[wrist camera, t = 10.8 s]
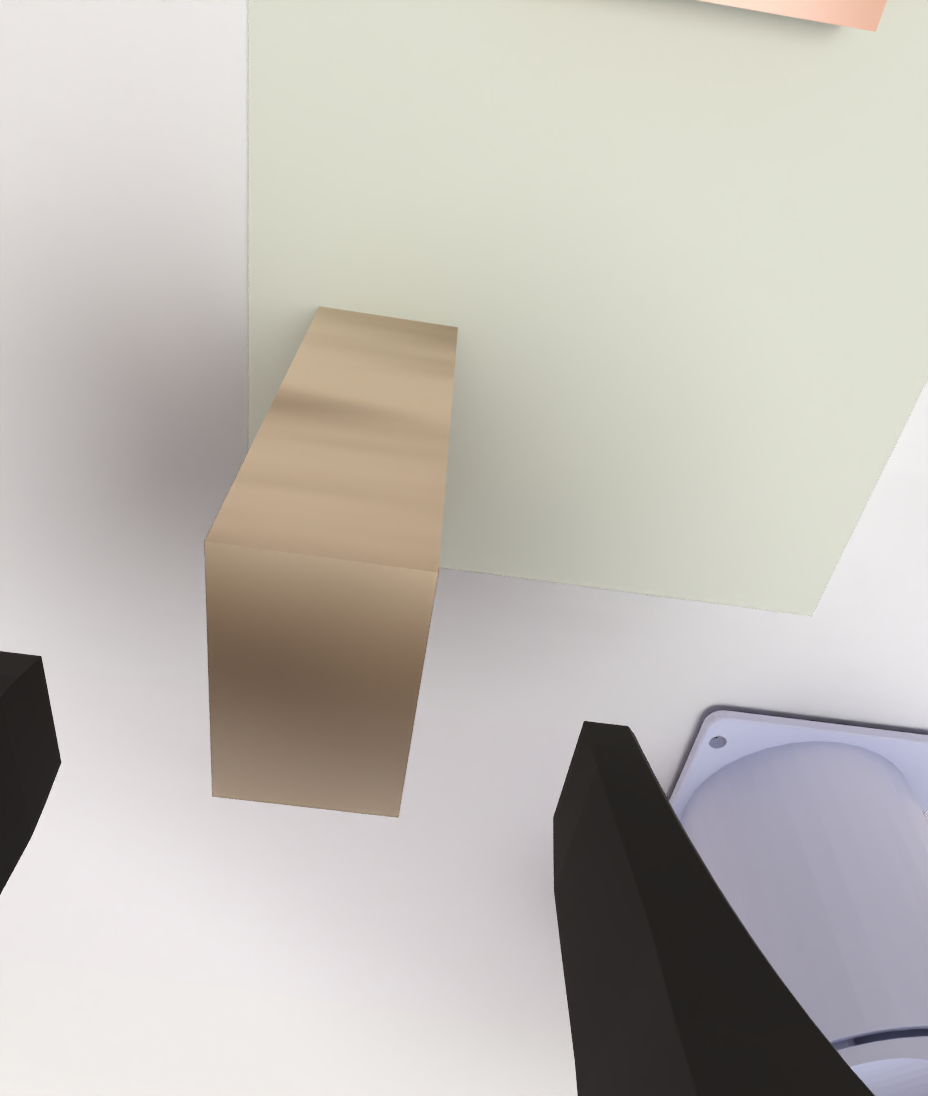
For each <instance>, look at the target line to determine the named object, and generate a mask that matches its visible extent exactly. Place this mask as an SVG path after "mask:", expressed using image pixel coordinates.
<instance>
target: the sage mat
mask: <svg viewBox="0 0 928 1096" xmlns="http://www.w3.org/2000/svg"><path fill="white" fill-rule="evenodd" d="M319 306H321V307H328V308H334V309H341V310H348V311H354V312H361V313H367V314H374V315H380V316H387V317H393V318H400V319H407V320H413V321H420V322H426V323H433V324H439V325H446V326H452V327H458V332H457V345H456V358H455V370H454V383H453V396H452V408H451V421H450V434H449V446H448V459H447V472H446V484H445V497H444V510H443V522H442V535H441V548H440V561H439V568H446V569H454V570H461V571H469V572H477V573H484V574H492V575H500V576H507V577H515V578H523V579H530V580H538V581H546V582H553V583H561V584H569V585H576V586H584V587H592V588H599V589H607V590H614V591H622V592H630V593H637V594H645V595H653V596H660V597H668V598H676V599H683V600H691V601H699V602H706V603H714V604H722V605H729V606H737V607H745V608H752V609H760V610H768V611H775V612H783V613H791V614H798V615H806V616H812V615H813V613H814V611H815V609H816V607H817V605H818V602H819V600H820V598H821V596H822V594H823V592H824V590H825V588H826V586H827V584H828V582H829V580H830V578H831V576H832V574H833V572H834V570H835V568H836V566H837V564H838V562H839V560H840V558H841V556H842V553H843V551H844V549H845V547H846V545H847V543H848V541H849V539H850V537H851V535H852V533H853V531H854V529H855V527H856V525H857V523H858V521H859V519H860V517H861V515H862V513H863V511H864V509H865V506H866V504H867V502H868V500H869V498H870V496H871V494H872V492H873V490H874V488H875V486H876V484H877V482H878V480H879V478H880V476H881V474H882V472H883V470H884V468H885V466H886V464H887V462H888V459H889V457H890V455H891V453H892V451H893V449H894V447H895V445H896V443H897V441H898V439H899V437H900V435H901V433H902V431H903V429H904V427H905V425H906V423H907V421H908V419H909V417H910V415H911V412H912V410H913V408H914V406H915V404H916V402H917V400H918V398H919V396H920V394H921V392H922V390H923V388H924V386H925V384H926V382H927V380H928V0H887V2H886V5H885V7H884V10H883V13H882V16H881V19H880V21H879V24H878V27H877V30H876V32H874V31H868V30H862V29H856V28H850V27H845V26H839V25H833V24H828V23H822V22H816V21H811V20H805V19H799V18H794V17H788V16H783V15H777V14H771V13H766V12H760V11H754V10H749V9H743V8H737V7H732V6H726V5H721V4H715V3H709V2H704V1H698V0H248V451H249V449H250V447H251V445H252V443H253V441H254V439H255V437H256V435H257V433H258V431H259V429H260V427H261V425H262V423H263V421H264V419H265V416H266V414H267V412H268V410H269V408H270V406H271V404H272V402H273V400H274V398H275V396H276V394H277V392H278V390H279V388H280V386H281V384H282V382H283V380H284V378H285V376H286V374H287V372H288V370H289V367H290V365H291V363H292V361H293V359H294V357H295V355H296V353H297V351H298V349H299V347H300V345H301V343H302V341H303V339H304V337H305V335H306V333H307V331H308V329H309V327H310V325H311V323H312V321H313V319H314V316H315V314H316V312H317V310H318V308H319Z"/></svg>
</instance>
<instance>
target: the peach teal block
mask: <svg viewBox="0 0 928 1096" xmlns="http://www.w3.org/2000/svg"><path fill="white" fill-rule="evenodd" d="M698 1H704V2H709V3H715V4H721V5H726V6H732V7H737V8H743V9H749V10H754V11H760V12H766V13H771V14H777V15H783V16H788V17H794V18H799V19H805V20H811V21H816V22H822V23H828V24H833V25H839V26H845V27H850V28H856V29H862V30H868V31H874V32H876V30H877V27H878V24H879V21H880V19H881V16H882V13H883V10H884V7H885V5H886V2H887V0H698Z"/></svg>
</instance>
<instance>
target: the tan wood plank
mask: <svg viewBox="0 0 928 1096" xmlns="http://www.w3.org/2000/svg"><path fill="white" fill-rule="evenodd" d="M457 332H458V327H452V326H446V325H439V324H433V323H426V322H420V321H413V320H407V319H400V318H393V317H387V316H380V315H374V314H367V313H361V312H354V311H348V310H341V309H334V308H328V307H321V306H319V308H318V310H317V312H316V314H315V316H314V319H313V321H312V323H311V325H310V327H309V329H308V331H307V333H306V335H305V337H304V339H303V341H302V343H301V345H300V347H299V349H298V351H297V353H296V355H295V357H294V359H293V361H292V363H291V365H290V367H289V370H288V372H287V374H286V376H285V378H284V380H283V382H282V384H281V386H280V388H279V390H278V392H277V394H276V396H275V398H274V400H273V402H272V404H271V406H270V408H269V410H268V412H267V414H266V416H265V419H264V421H263V423H262V425H261V427H260V429H259V431H258V433H257V435H256V437H255V439H254V441H253V443H252V445H251V447H250V449H249V451H248V453H247V455H246V457H245V459H244V461H243V463H242V465H241V467H240V470H239V472H238V474H237V476H236V478H235V480H234V482H233V484H232V486H231V488H230V490H229V492H228V494H227V496H226V498H225V500H224V502H223V504H222V506H221V508H220V510H219V512H218V514H217V516H216V518H215V521H214V523H213V525H212V527H211V529H210V531H209V533H208V535H207V537H206V539H205V541H204V548H205V580H206V613H207V645H208V677H209V709H210V742H211V774H212V796H213V797H221V798H230V799H239V800H248V801H257V802H265V803H274V804H283V805H292V806H301V807H309V808H318V809H327V810H336V811H345V812H353V813H362V814H371V815H380V816H389V817H399V811H400V804H401V798H402V792H403V786H404V780H405V774H406V768H407V762H408V756H409V750H410V743H411V737H412V731H413V725H414V719H415V713H416V707H417V701H418V695H419V689H420V683H421V676H422V670H423V664H424V658H425V652H426V646H427V640H428V634H429V628H430V622H431V616H432V609H433V603H434V597H435V591H436V585H437V579H438V573H439V561H440V548H441V535H442V522H443V510H444V497H445V484H446V472H447V459H448V446H449V434H450V421H451V408H452V396H453V383H454V370H455V358H456V345H457Z"/></svg>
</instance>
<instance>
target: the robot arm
mask: <svg viewBox="0 0 928 1096" xmlns="http://www.w3.org/2000/svg"><path fill="white" fill-rule="evenodd" d="M717 736H721V737H719V738H714V737H717ZM712 738H714V739H712ZM60 764H61V759H60V753H59V748H58V743H57V737H56V732H55V727H54V721H53V716H52V711H51V705H50V700H49V695H48V689H47V684H46V679H45V673H44V668H43V663H42V657H41V656H35V655H27V654H18V653H10V652H2V651H0V894H1V892H2V890H3V888H4V887H5V885H6V883H7V881H8V879H9V877H10V876H11V874H12V872H13V870H14V868H15V866H16V865H17V863H18V861H19V859H20V857H21V855H22V854H23V852H24V850H25V848H26V846H27V844H28V842H29V840H30V838H31V837H32V835H33V832H34V830H35V827H36V825H37V823H38V820H39V818H40V815H41V813H42V810H43V808H44V806H45V803H46V801H47V798H48V796H49V793H50V790H51V788H52V785H53V782H54V780H55V777H56V775H57V772H58V769H59V767H60ZM927 810H928V735H922V734H914V733H906V732H898V731H890V730H882V729H873V728H865V727H857V726H849V725H841V724H833V723H824V722H816V721H808V720H800V719H792V718H784V717H775V716H767V715H759V714H751V713H743V712H735V711H726V710H720V711H716V712H713V713H711V714H710V715H708V716H707V717H706V718H705V720H704V722H703V724H702V726H701V729H700V731H699V733H698V736H697V738H696V740H695V743H694V745H693V747H692V749H691V752H690V754H689V756H688V759H687V761H686V763H685V766H684V768H683V770H682V772H681V775H680V777H679V779H678V782H677V784H676V786H675V788H674V791H673V793H672V795H671V798H670V800H669V801H668V799H667V797H666V795H665V793H664V792H663V790H662V788H661V786H660V784H659V782H658V780H657V778H656V776H655V774H654V773H653V771H652V769H651V767H650V765H649V763H648V761H647V759H646V757H645V755H644V753H643V751H642V749H641V747H640V745H639V743H638V741H637V739H636V737H635V735H634V733H633V732H632V731H631V729H630V728H629V727H628V726H621V725H613V724H605V723H596V722H588V721H584V723H583V726H582V729H581V732H580V735H579V739H578V742H577V745H576V748H575V751H574V754H573V757H572V761H571V764H570V767H569V770H568V773H567V776H566V780H565V783H564V786H563V789H562V792H561V795H560V798H559V802H558V805H557V808H556V811H555V814H554V817H553V839H554V894H555V903H556V911H557V920H558V928H559V937H560V945H561V953H562V961H563V969H564V977H565V985H566V993H567V1001H568V1009H569V1018H570V1026H571V1034H572V1042H573V1050H574V1058H575V1068H576V1080H577V1091H578V1096H928V821H927V819H926V817H925V815H924V814H925V812H926V811H927Z"/></svg>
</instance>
